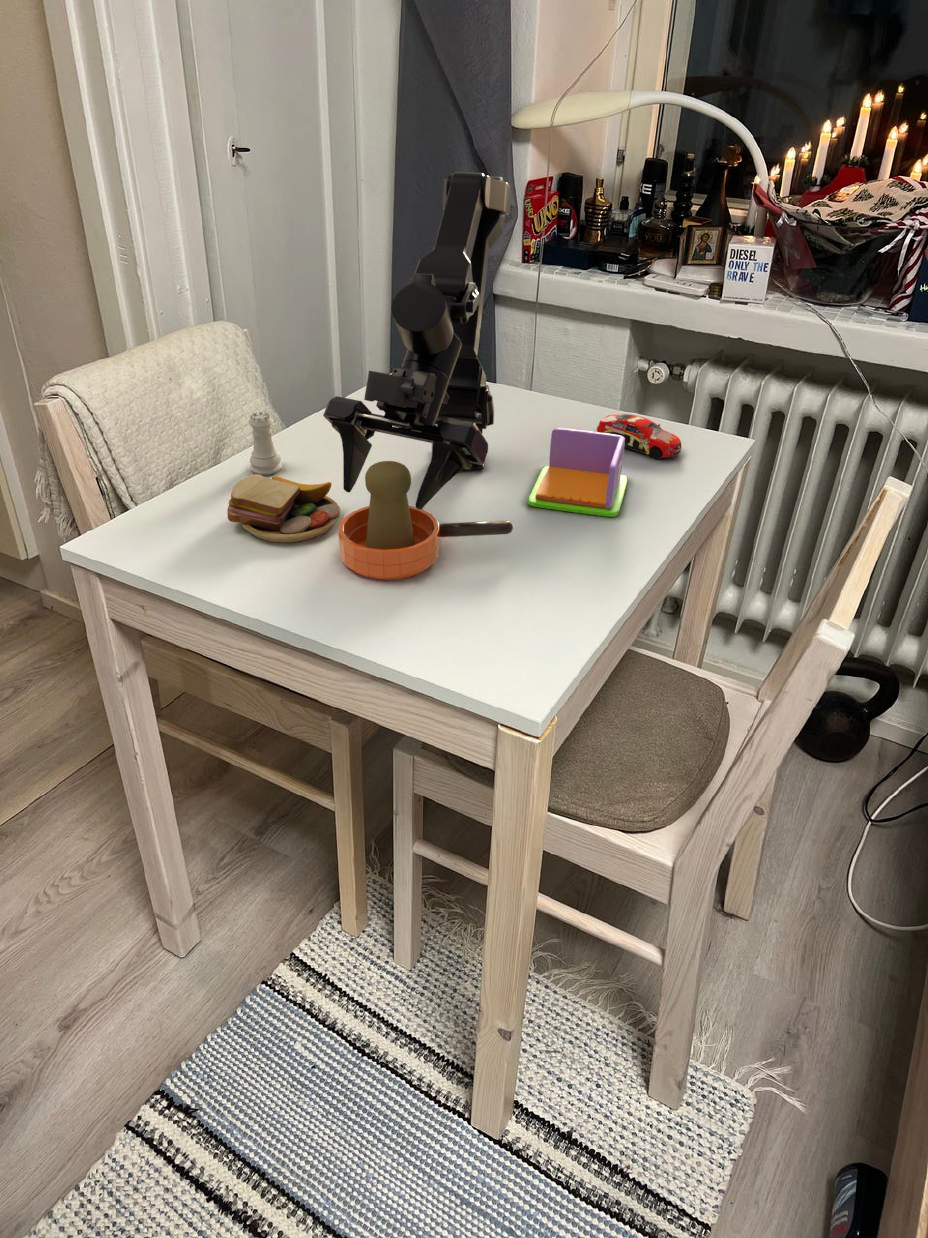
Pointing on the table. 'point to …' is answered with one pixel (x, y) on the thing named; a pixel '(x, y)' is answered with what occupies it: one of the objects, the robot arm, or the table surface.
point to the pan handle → (474, 528)
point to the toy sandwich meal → (282, 508)
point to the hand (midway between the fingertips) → (381, 499)
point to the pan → (389, 560)
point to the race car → (641, 435)
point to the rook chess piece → (263, 446)
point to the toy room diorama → (582, 474)
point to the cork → (389, 506)
